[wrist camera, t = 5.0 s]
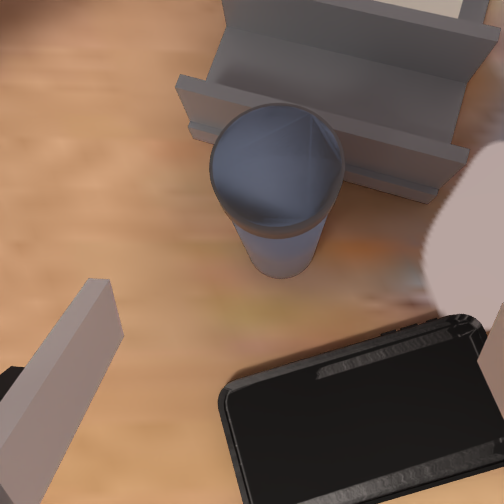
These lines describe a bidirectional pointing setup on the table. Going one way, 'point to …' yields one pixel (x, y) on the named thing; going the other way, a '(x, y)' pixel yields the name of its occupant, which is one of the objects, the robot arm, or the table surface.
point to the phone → (366, 419)
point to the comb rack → (353, 79)
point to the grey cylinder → (278, 183)
